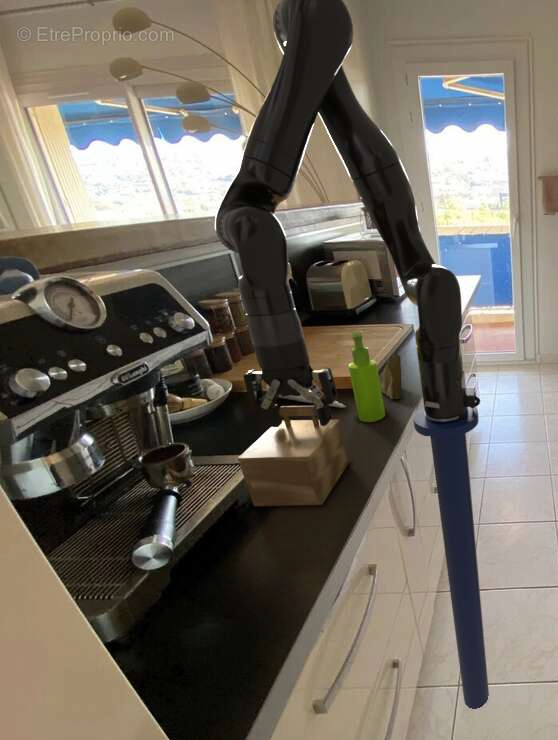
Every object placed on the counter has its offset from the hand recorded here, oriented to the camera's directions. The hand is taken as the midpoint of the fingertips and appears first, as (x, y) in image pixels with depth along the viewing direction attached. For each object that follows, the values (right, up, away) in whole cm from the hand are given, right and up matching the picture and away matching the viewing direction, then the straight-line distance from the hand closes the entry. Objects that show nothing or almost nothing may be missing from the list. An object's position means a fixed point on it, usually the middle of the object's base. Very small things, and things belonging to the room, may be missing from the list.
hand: (301, 424), depth 80 cm
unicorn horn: (-16, +4, +33) cm, 37 cm away
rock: (+4, +6, +37) cm, 38 cm away
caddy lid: (0, -3, -3) cm, 4 cm away
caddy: (0, -11, +1) cm, 11 cm away
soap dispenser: (+4, +1, +25) cm, 25 cm away
